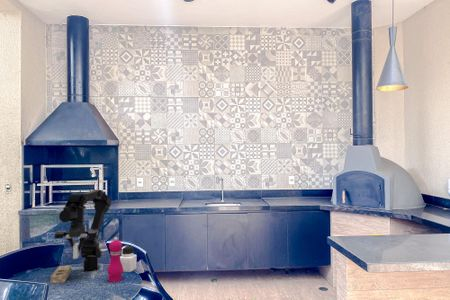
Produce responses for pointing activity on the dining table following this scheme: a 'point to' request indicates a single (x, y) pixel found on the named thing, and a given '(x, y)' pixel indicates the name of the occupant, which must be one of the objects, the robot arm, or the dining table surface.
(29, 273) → the dining table surface
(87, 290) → the dining table surface
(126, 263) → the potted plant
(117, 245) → the pepper mill
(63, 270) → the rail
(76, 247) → the clip
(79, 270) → the dining table surface
